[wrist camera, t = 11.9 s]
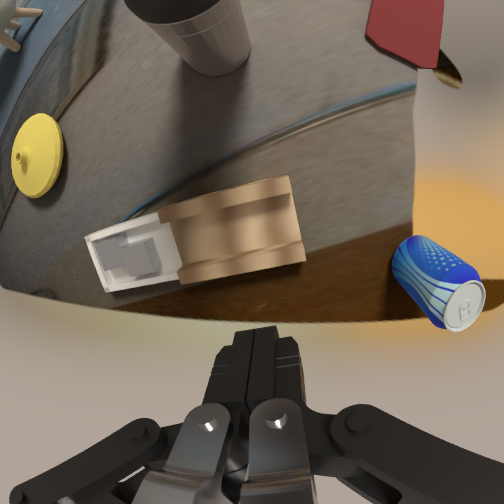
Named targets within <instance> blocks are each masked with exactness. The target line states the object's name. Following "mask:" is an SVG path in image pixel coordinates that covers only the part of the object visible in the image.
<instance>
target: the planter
mask: <svg viewBox="0 0 504 504" xmlns="http://www.w3.org/2000/svg"><path fill="white" fill-rule="evenodd" d="M15 4H16V0H0V44H2V45H4V46H6V47H7V48H9V49H10V50H12V51H14V52H18V51H19V50H20V48H21V45H20V44H19V43H18V42H16V41H15V40H14V39H13V38H11V37H10V36H9V35H7V34H6V33H5V32H4V31H5V29H10V30H17V29H18V28H19V27H20V23H18V22H15V21H12V20H11V19H12V18H15V17H39V16H40V15H41V14H42V12H43V10H41V9H32V8H17V7H16V5H15Z"/></svg>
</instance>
